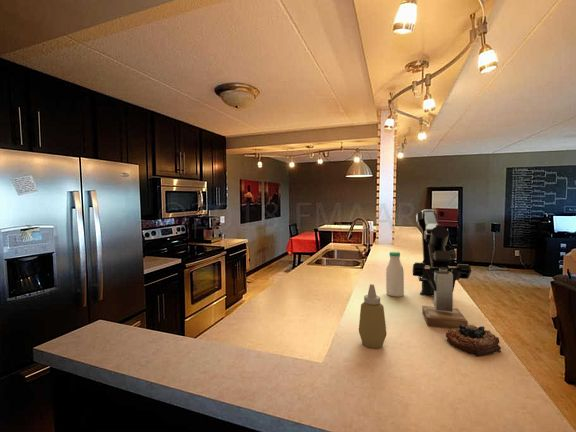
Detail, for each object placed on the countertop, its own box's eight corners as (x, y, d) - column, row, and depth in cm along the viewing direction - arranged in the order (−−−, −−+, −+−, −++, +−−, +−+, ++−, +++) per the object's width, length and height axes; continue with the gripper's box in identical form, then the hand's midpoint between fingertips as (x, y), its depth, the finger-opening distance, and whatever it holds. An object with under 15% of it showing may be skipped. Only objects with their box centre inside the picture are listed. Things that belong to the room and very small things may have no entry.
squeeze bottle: (356, 348, 81) (356, 287, 81) (360, 336, 89) (359, 280, 89) (386, 353, 78) (385, 289, 78) (387, 340, 86) (386, 282, 86)
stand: (422, 313, 107) (422, 305, 107) (458, 316, 103) (457, 308, 103) (427, 326, 96) (427, 316, 96) (467, 330, 92) (467, 320, 92)
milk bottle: (404, 297, 126) (404, 253, 125) (386, 296, 128) (386, 253, 128) (403, 292, 133) (403, 251, 133) (386, 291, 136) (385, 250, 135)
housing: (433, 305, 103) (434, 267, 102) (449, 306, 101) (449, 267, 100) (436, 310, 98) (436, 270, 97) (452, 311, 96) (453, 271, 96)
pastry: (506, 351, 78) (506, 331, 78) (475, 360, 75) (475, 338, 74) (469, 335, 89) (469, 317, 89) (441, 341, 85) (441, 322, 85)
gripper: (413, 241, 105) (416, 277, 95) (469, 242, 100) (480, 280, 89) (411, 258, 113) (414, 293, 103) (463, 260, 107) (472, 297, 97)
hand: (443, 290), depth 98 cm, fingers closed on housing, 5 cm apart
